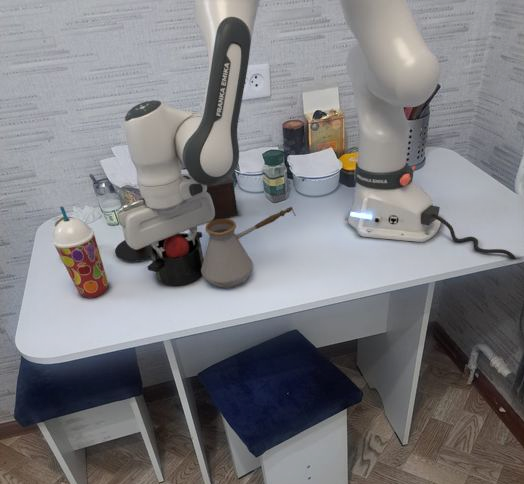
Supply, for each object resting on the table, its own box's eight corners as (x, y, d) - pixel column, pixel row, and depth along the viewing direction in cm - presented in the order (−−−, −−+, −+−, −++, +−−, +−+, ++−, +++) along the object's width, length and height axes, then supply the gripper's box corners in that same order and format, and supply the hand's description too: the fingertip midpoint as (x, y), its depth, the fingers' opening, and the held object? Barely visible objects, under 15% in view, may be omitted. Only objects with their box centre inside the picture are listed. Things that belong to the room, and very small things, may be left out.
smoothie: (91, 277, 110) (59, 196, 97) (120, 283, 107) (91, 200, 94) (68, 298, 104) (30, 214, 91) (98, 304, 102) (64, 219, 88)
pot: (221, 259, 111) (216, 233, 106) (178, 298, 101) (171, 270, 96) (184, 250, 116) (178, 224, 111) (139, 286, 106) (130, 259, 101)
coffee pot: (203, 296, 101) (190, 233, 91) (202, 267, 109) (191, 207, 99) (301, 283, 101) (300, 219, 91) (293, 256, 110) (291, 194, 100)
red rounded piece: (187, 270, 104) (180, 238, 99) (163, 269, 105) (154, 237, 100) (195, 256, 108) (188, 225, 103) (172, 256, 109) (164, 224, 104)
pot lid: (174, 243, 119) (170, 225, 115) (142, 268, 111) (137, 249, 108) (138, 234, 124) (133, 216, 120) (105, 257, 116) (99, 239, 113)
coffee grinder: (229, 199, 135) (220, 134, 123) (238, 215, 127) (230, 147, 115) (176, 210, 133) (161, 145, 121) (182, 227, 125) (167, 159, 113)
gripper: (120, 213, 89) (140, 274, 99) (213, 180, 97) (222, 240, 106) (109, 202, 94) (128, 262, 103) (198, 172, 101) (209, 230, 110)
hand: (177, 251), depth 105 cm, fingers closed on red rounded piece, 6 cm apart
